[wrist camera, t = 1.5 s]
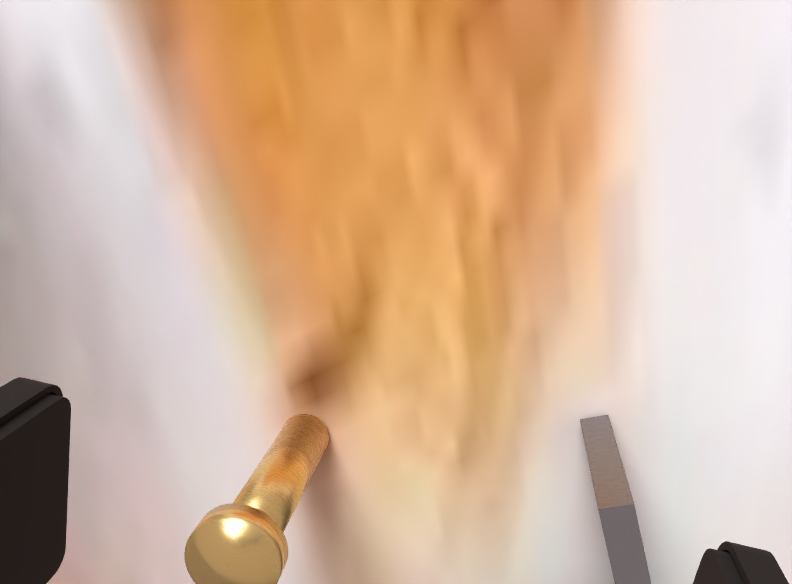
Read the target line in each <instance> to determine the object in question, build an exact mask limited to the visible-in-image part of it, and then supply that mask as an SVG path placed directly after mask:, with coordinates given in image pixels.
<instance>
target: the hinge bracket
mask: <svg viewBox="0 0 792 584" xmlns="http://www.w3.org/2000/svg"><path fill="white" fill-rule="evenodd" d="M580 422H581V427H582V431H583V436H584V441H585V446H586V451H587V456H588V461H589V466H590V471H591V476H592V481H593V486H594V490H595V495H596V500H597V505H598V510H599V514H600V519H601V523H602V528H603V532H604V536H605V541H606V545H607V549H608V554H609V558H610V563H611V567H612V571H613V576H614V580H615V584H651V581H650V576H649V572H648V567H647V562H646V558H645V553H644V548H643V544H642V539H641V534H640V530H639V525H638V520H637V516H636V511H635V506H634V502H633V499H632V495H631V492H630V489H629V485H628V482H627V478H626V475H625V471H624V468H623V464H622V461H621V458H620V454H619V451H618V447H617V444H616V440H615V437H614V434H613V430H612V427H611V423H610V420H609V416H608V415H603V416H598V417H592V418H586V419H581V420H580Z"/></svg>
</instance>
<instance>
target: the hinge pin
mask: <svg viewBox="0 0 792 584" xmlns="http://www.w3.org/2000/svg"><path fill="white" fill-rule="evenodd" d="M328 442H329V434H328V430H327V428H326V426H325V425H324V424H323V422H322V421H320V420H319V419H318V418H316V417H314V416H312V415H308V414H299V415H296V416H293V417H292V418H290V419H289V420H288V421H287V423H286V424H285V425H284V427H283V429H282V430H281V432H280V433H279V435H278V436H277V438H276V439H275V441H274V442H273V444H272V445H271V447H270V448H269V450H268V451H267V453H266V454H265V456H264V457H263V459H262V460H261V462H260V463H259V465H258V466H257V468H256V469H255V471H254V472H253V474H252V475H251V477H250V478H249V480H248V481H247V483H246V484H245V486H244V487H243V489H242V490H241V492H240V493H239V495H238V496H237V498H236V499H235V501H234V503H233V504H225V505H221V506H219V507H216V508H214V509H213V510H211V511H210V512H208V513H207V514H206V515H205V516H204V517H203V519H202V520H201V522H200V523H199V524H198V526H197V527H196V529H195V530H194V532H193V533H192V534H191V536H190V537H189V539H188V541H187V544H186V547H185V563H186V567H187V570H188V572H189V574H190V576H191V578H192V579H193V581H194V582H195V583H196V584H277V582H278V580H279V578H280V576H281V574H282V571H283V569H284V567H285V565H286V562H287V558H288V546H287V541H286V538H285V536H284V533H283V532H284V530H285V528H286V526H287V524H288V522H289V520H290V518H291V516H292V514H293V512H294V510H295V508H296V506H297V504H298V502H299V500H300V498H301V496H302V494H303V492H304V490H305V488H306V486H307V484H308V483H309V481H310V479H311V477H312V475H313V473H314V471H315V469H316V467H317V465H318V463H319V461H320V459H321V457H322V455H323V453H324V451H325V449H326V447H327V445H328Z"/></svg>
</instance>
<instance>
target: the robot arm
mask: <svg viewBox="0 0 792 584" xmlns="http://www.w3.org/2000/svg"><path fill="white" fill-rule="evenodd" d="M70 419H71V404H70V402H69V400H68V399H67V398H65V397H63V394H62V392H61V389H60V388H59V387H58V386H56V385H52V384H48V383H43V382H39V381H35V380H30V379H26V378H20V377H19V378H16V379H14V380H12V381H10V382H9V383H7V384H5V385H4V386H2V387H0V584H46V583H47V582H48V581H49V580H50V579H51V578H52V577H53V575H54V574H55V573H56V572H57V570H58V568H59V567H60V565H61V562H62V560H63V557H64V554H65V548H66V524H67V498H68V471H69V445H70ZM693 584H789V583H788V581H787V579H786V578H785V576H784V574H783V572H782V570H781V569H780V567H779V565H778V563H777V561H776V560H775V558H774V556H773V555H772V554H771V553H770V552H768V551H765V550H761V549H757V548H753V547H748V546H744V545H740V544H735V543H731V542H727V541H726V542H724V543H722V544H721V545H720V546H719V548H718V550H714V549H707V550H706V551H705V553H704V555H703V557H702V559H701V562H700V565H699V568H698V571H697V573H696V576H695V579H694V582H693Z"/></svg>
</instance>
